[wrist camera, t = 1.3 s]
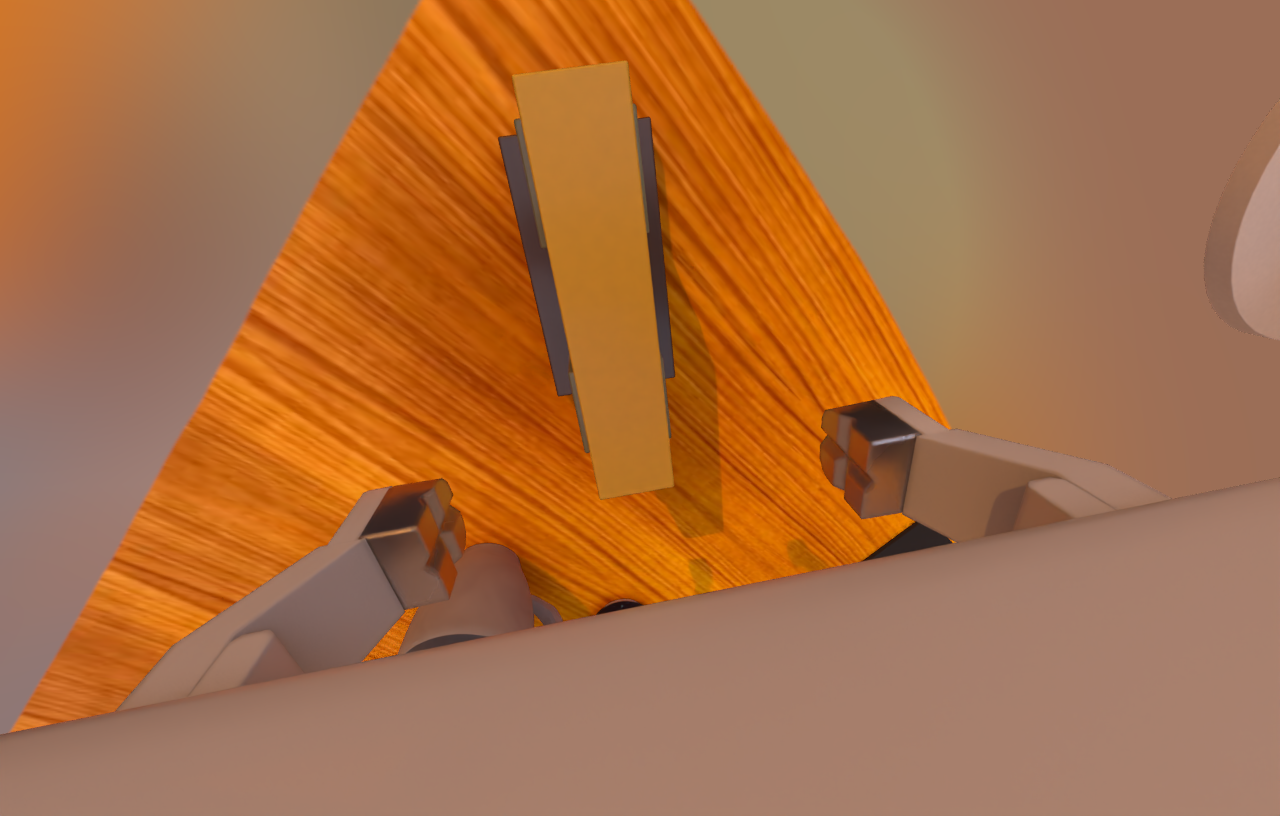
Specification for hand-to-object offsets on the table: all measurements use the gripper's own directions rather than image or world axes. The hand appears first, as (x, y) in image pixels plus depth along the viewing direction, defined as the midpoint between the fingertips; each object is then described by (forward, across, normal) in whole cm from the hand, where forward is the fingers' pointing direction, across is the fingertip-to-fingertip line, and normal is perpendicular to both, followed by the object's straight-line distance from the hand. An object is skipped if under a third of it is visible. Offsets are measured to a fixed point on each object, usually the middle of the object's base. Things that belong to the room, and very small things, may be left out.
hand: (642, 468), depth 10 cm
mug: (+22, +12, +23) cm, 34 cm away
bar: (+12, 0, -1) cm, 12 cm away
